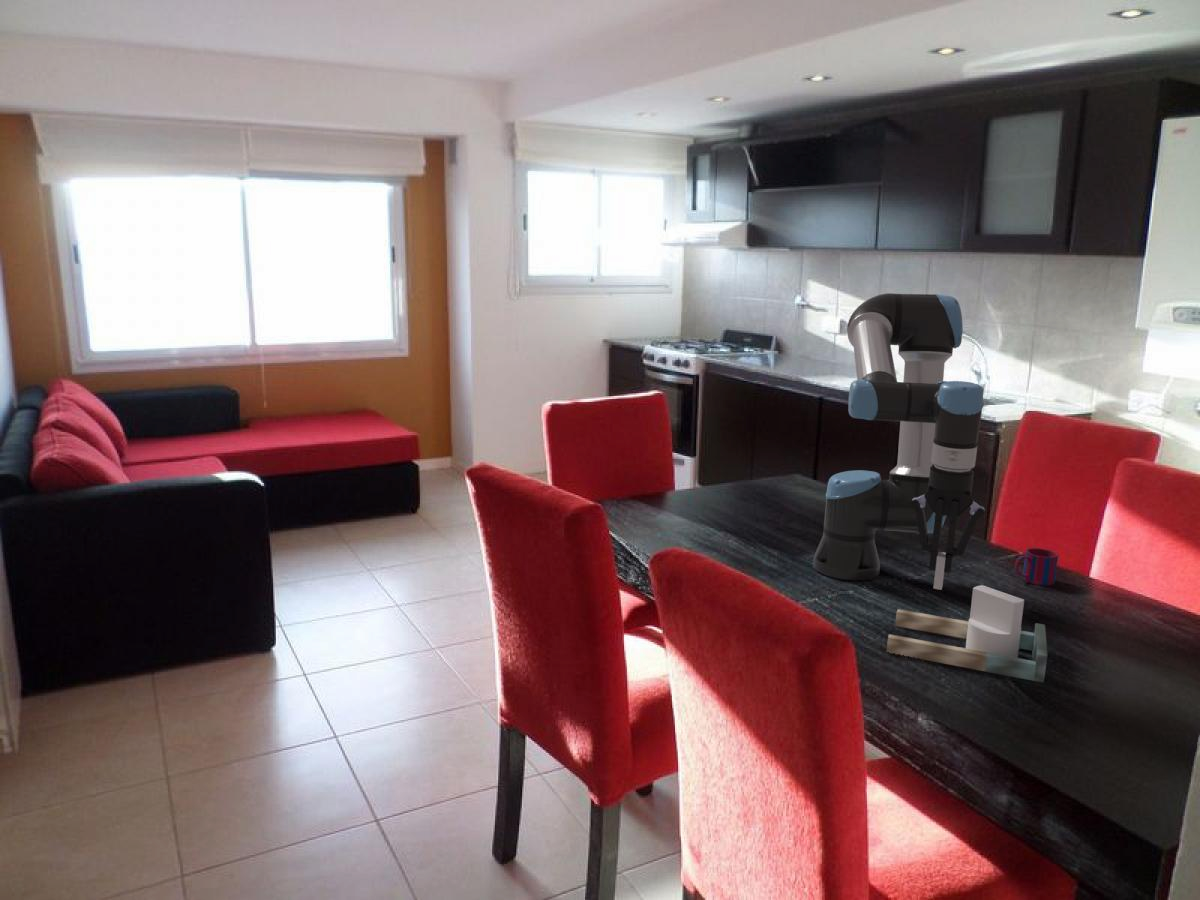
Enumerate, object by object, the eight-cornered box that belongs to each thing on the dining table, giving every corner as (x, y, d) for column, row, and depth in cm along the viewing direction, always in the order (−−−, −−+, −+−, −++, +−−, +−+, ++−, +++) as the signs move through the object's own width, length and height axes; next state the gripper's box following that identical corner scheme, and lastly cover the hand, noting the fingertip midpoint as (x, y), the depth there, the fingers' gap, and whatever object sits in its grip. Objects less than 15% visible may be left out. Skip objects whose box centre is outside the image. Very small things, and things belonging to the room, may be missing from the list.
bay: (886, 652, 169) (889, 627, 168) (896, 623, 182) (898, 599, 181) (1043, 682, 158) (1047, 656, 157) (1041, 649, 172) (1044, 624, 170)
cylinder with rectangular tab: (955, 650, 170) (961, 590, 168) (984, 640, 175) (990, 581, 172) (998, 669, 163) (1006, 607, 160) (1027, 657, 168) (1035, 596, 165)
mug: (1060, 585, 206) (1064, 557, 204) (1020, 586, 204) (1023, 558, 203) (1042, 575, 212) (1046, 547, 210) (1003, 576, 211) (1006, 548, 209)
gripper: (912, 467, 164) (899, 587, 170) (990, 476, 159) (974, 600, 165) (917, 457, 171) (904, 574, 176) (991, 466, 165) (975, 585, 171)
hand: (937, 586), depth 171 cm, fingers closed
